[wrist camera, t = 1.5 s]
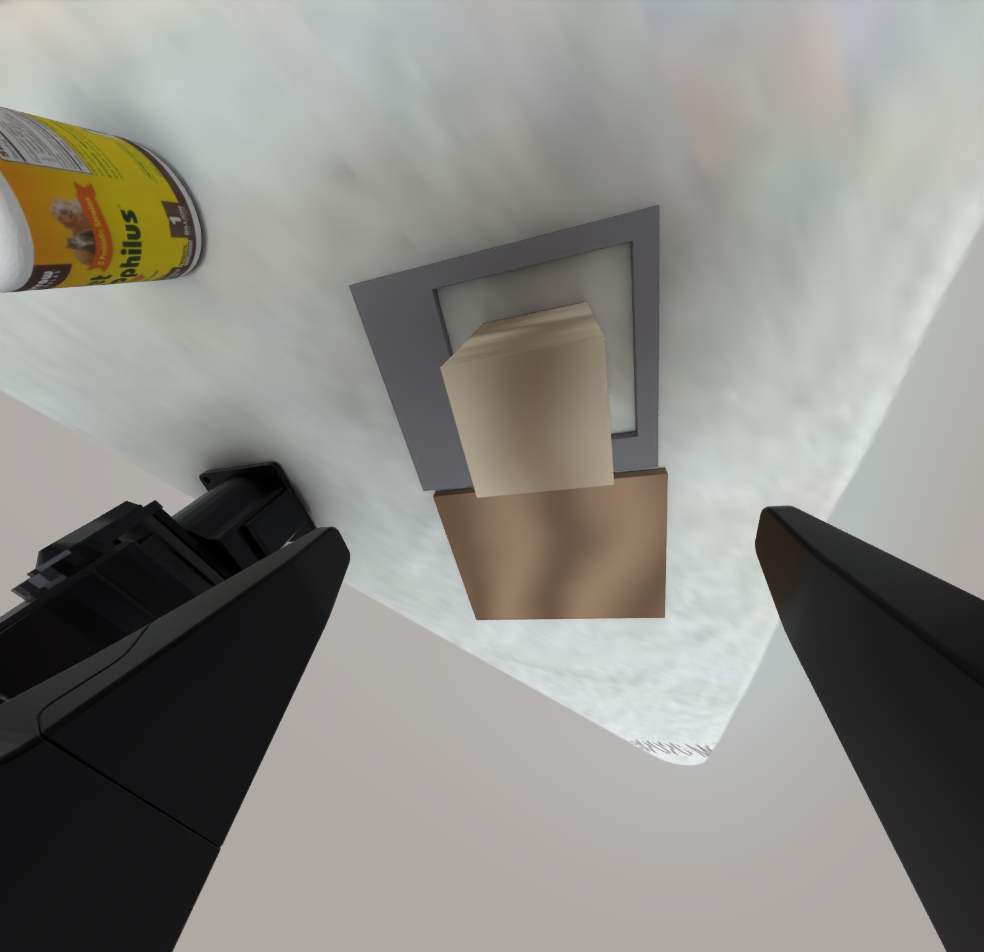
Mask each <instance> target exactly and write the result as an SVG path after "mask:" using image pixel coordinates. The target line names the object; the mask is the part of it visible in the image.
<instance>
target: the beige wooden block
mask: <svg viewBox="0 0 984 952" xmlns="http://www.w3.org/2000/svg"><path fill="white" fill-rule="evenodd" d="M440 369H441V372H442V376H443V380H444V383H445V387H446V390H447V394H448V397H449V401H450V404H451V408H452V411H453V415H454V418H455V422H456V426H457V429H458V433H459V436H460V440H461V443H462V447H463V450H464V454H465V457H466V461H467V464H468V468H469V472H470V475H471V479H472V482H473V486H474V489H475V493H476V496H477V498H480V497H490V496H501V495H512V494H522V493H533V492H543V491H554V490H564V489H575V488H585V487H596V486H606V485H614V475H613V459H612V443H611V427H610V412H609V396H608V380H607V364H606V349H605V336H604V334H603V332H602V330H601V328H600V326H599V324H598V322H597V320H596V318H595V316H594V315H593V313H592V311H591V309H590V307H589V305H588V303H587V302H583V303H579V304H574V305H569V306H564V307H560V308H555V309H550V310H545V311H541V312H536V313H531V314H526V315H522V316H517V317H512V318H508V319H503V320H498V321H493V322H489V323H484V324H483V325H482V326H481V327H480V328H479V329H478V330H477V331H476V332H475V333H474V334H473V335H472V336H471V337H470V338H469V339H468V340H467V341H466V342H465V343H464V344H463V345H462V346H461V347H460V348H459V349H458V350H457V351H456V352H455V353H454V354H453V355H452V356H451V357H450V358H449V359H448V360H447V361H446V362H445V363H444V364H443V365H442V366H441V367H440Z"/></svg>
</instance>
